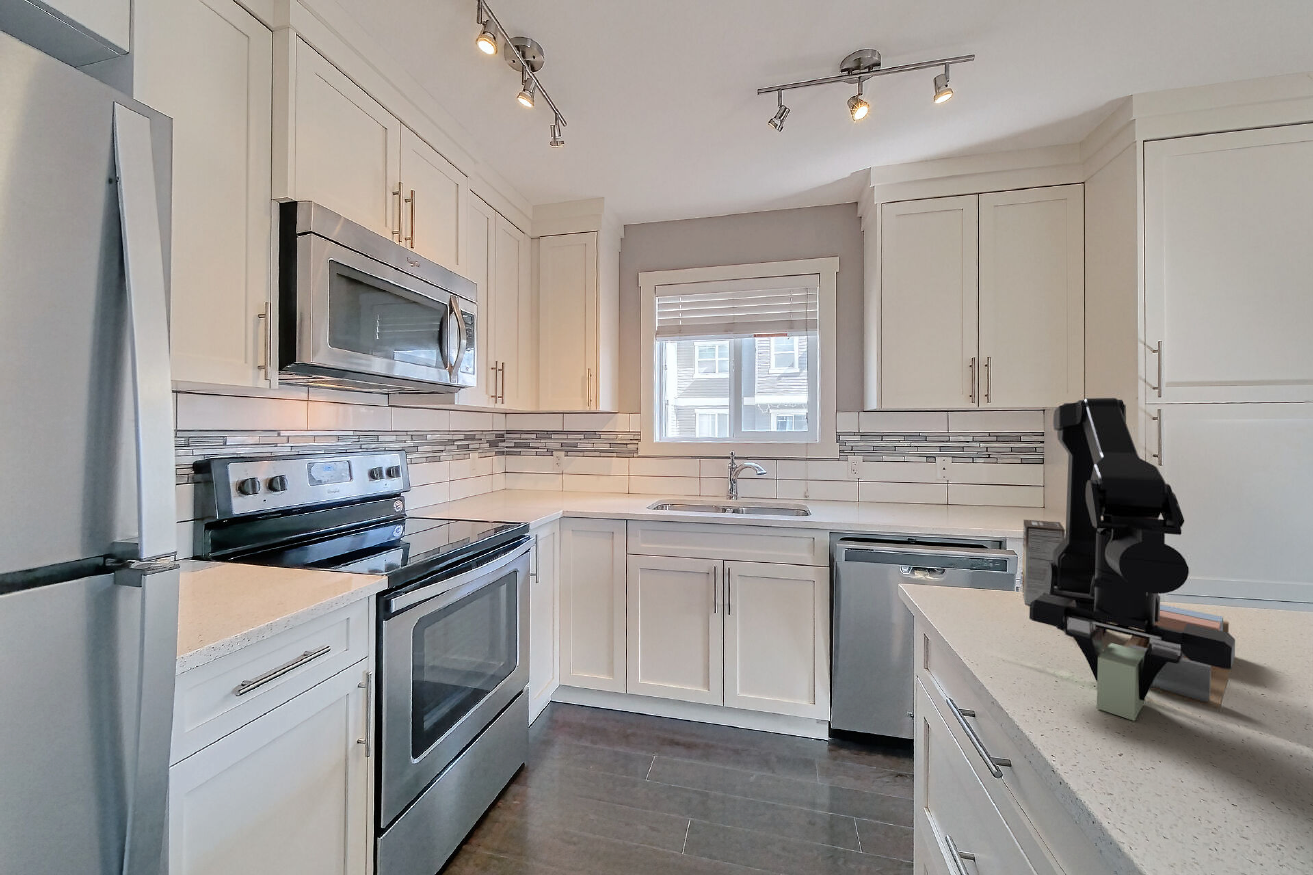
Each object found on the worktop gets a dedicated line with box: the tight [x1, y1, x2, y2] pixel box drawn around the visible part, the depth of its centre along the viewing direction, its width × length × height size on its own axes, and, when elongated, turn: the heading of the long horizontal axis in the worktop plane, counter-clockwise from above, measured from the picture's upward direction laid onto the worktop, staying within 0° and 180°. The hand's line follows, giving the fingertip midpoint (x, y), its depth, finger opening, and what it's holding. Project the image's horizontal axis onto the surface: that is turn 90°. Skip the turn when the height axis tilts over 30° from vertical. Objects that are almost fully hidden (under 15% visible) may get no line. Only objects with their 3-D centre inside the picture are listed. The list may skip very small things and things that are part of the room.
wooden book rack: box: [1123, 620, 1232, 709], centre depth 75 cm, size 24×10×6 cm, turn 129°
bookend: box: [1129, 644, 1211, 703], centre depth 68 cm, size 2×8×4 cm, turn 39°
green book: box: [1096, 642, 1146, 721], centre depth 66 cm, size 4×7×6 cm, turn 129°
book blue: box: [1160, 603, 1224, 631], centre depth 80 cm, size 4×7×6 cm, turn 39°
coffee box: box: [1021, 519, 1066, 606], centre depth 105 cm, size 9×6×16 cm
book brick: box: [1155, 610, 1221, 670], centre depth 77 cm, size 4×7×6 cm, turn 39°
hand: (1121, 692), depth 66 cm, fingers closed on green book, 3 cm apart
